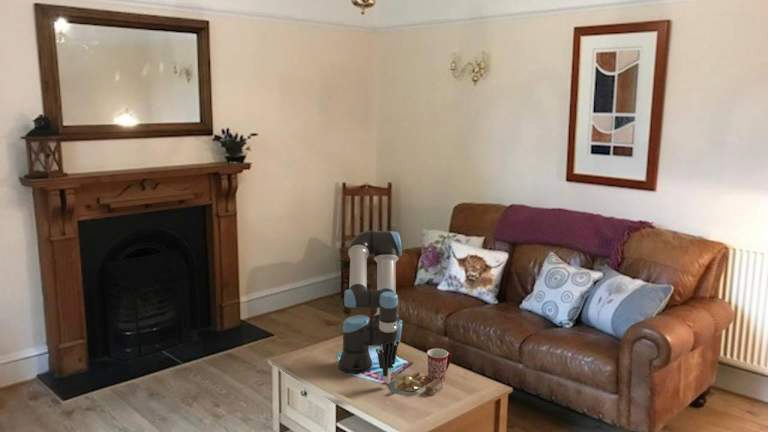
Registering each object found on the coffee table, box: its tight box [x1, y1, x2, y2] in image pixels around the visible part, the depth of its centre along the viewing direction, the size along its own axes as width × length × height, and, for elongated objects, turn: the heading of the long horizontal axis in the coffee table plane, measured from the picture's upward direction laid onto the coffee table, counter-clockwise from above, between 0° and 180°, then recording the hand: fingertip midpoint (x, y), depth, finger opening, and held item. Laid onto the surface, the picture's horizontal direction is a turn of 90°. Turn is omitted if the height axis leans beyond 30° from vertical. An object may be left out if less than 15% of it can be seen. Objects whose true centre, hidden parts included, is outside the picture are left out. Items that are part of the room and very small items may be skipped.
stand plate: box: [387, 378, 426, 397], centre depth 269 cm, size 16×16×2 cm
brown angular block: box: [425, 379, 443, 397], centre depth 265 cm, size 4×8×5 cm, turn 142°
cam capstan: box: [391, 371, 425, 392], centre depth 268 cm, size 16×16×7 cm
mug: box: [426, 348, 452, 383], centre depth 277 cm, size 13×9×14 cm
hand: (386, 382), depth 267 cm, fingers closed
